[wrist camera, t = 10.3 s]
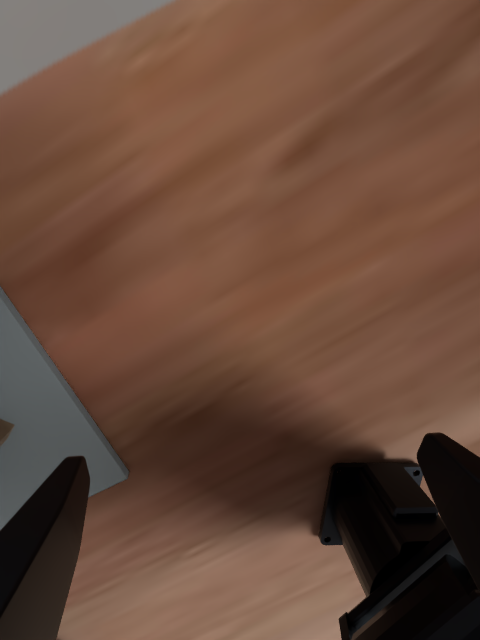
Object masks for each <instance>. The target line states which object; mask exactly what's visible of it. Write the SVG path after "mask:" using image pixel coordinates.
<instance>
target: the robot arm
mask: <svg viewBox="0 0 480 640" xmlns="http://www.w3.org/2000/svg"><path fill="white" fill-rule="evenodd" d="M417 460H418V464H419V465H418V464H417V463H337V464H335V465H333V466H332V468H331V471H330V477H329V482H328V488H327V493H326V499H325V504H324V510H323V515H322V521H321V526H320V532H319V538H320V541H321V543H322V544H323V545H343V546H344V548H345V550H346V552H347V555H348V557H349V559H350V561H351V564H352V566H353V568H354V570H355V572H356V575H357V577H358V579H359V581H360V584H361V586H362V588H363V590H364V593H365V595H366V598H365V599H364V600H363V601H361V602H360V603H359V604H358V605H357V606H356V607H355V608H353V609H352V610H351V611H350V612H349V613H347V612H346V613H345V614H344V615H342V616H341V617H340V618H339V624H340V631H341V638H342V640H480V457H478V456H477V455H475V454H474V453H472V452H471V451H469V450H468V449H466V448H465V447H463V446H462V445H460V444H459V443H457V442H455V441H454V440H452V439H451V438H449V437H448V436H446V435H445V434H443V433H427V434H426V435H425V436H424V438H423V440H422V443H421V445H420V447H419V450H418V452H417ZM339 470H341V471H340V472H338V471H339ZM415 470H416V471H415ZM414 471H415V472H414ZM337 472H338V473H337ZM422 476H424V478H425V481H426V483H427V486H428V488H429V490H430V493H431V495H432V498H433V500H434V503H435V504H434V503H433V502H432V501H431V500H430V498H429V497H428V496H427V495H426V494H425V492H424V491H423V490H422V489H421V488H420V484H421V480H422ZM89 489H90V475H89V471H88V467H87V462H86V459H85V457H84V456H69V457H66V458H65V459H64V460H63V461H62V462H61V463H60V464H59V465H58V466H57V467H56V469H55V470H54V471H53V472H52V473H51V474H50V475H49V476H48V477H47V479H46V480H45V481H44V482H43V483H42V484H41V485H40V486H39V488H38V489H37V490H36V491H35V492H34V493H33V494H32V495H31V497H30V498H29V499H28V500H27V501H26V502H25V503H24V504H23V506H22V507H21V508H20V509H19V510H18V511H17V512H16V513H15V515H14V516H13V517H12V518H11V519H10V520H9V521H8V522H7V524H6V525H5V526H4V527H3V528H2V529H1V530H0V640H56V637H57V633H58V630H59V626H60V622H61V619H62V615H63V611H64V608H65V604H66V600H67V597H68V593H69V589H70V585H71V582H72V578H73V574H74V571H75V567H76V563H77V559H78V555H79V550H80V545H81V539H82V533H83V526H84V520H85V514H86V508H87V501H88V495H89ZM435 505H436V506H435ZM438 512H439V514H440V516H439V515H438Z"/></svg>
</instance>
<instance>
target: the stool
mask: <svg viewBox="0 0 480 640" xmlns="http://www.w3.org/2000/svg"><path fill="white" fill-rule="evenodd" d="M14 426H15V425H14V424H12V423H9V422H7V421H5V420H2V419H0V447H1V445H2V444H3V443H4V442H5V441H6V440H7V438H8V437H9V435H10V433H11V431H12V429H13V427H14Z"/></svg>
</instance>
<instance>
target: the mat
mask: <svg viewBox="0 0 480 640" xmlns="http://www.w3.org/2000/svg"><path fill="white" fill-rule="evenodd" d="M0 419H2V420H5V421H7V422H9V423H12V424H14V425H15V426H14V427H13V429H12V431H11V433H10V435H9V437H8V438H7V440H6V441H5V442H4V443H3V444H2V445H1V447H0V530H1V529H2V528H3V527H4V526H5V525H6V524H7V522H8V521H9V520H10V519H11V518H12V517H13V516H14V515H15V513H16V512H17V511H18V510H19V509H20V508H21V507H22V506H23V504H24V503H25V502H26V501H27V500H28V499H29V498H30V497H31V495H32V494H33V493H34V492H35V491H36V490H37V489H38V488H39V486H40V485H41V484H42V483H43V482H44V481H45V480H46V479H47V477H48V476H49V475H50V474H51V473H52V472H53V471H54V470H55V469H56V467H57V466H58V465H59V464H60V463H61V462H62V461H63V460H64V459H65V458H66V457H69V456H84V457H85V459H86V462H87V467H88V471H89V475H90V489H89V495H88V497H90V496H92V495H94V494H96V493H98V492H101V491H103V490H105V489H107V488H109V487H111V486H113V485H115V484H117V483H119V482H122V481H124V480H126V479H128V475H129V471H128V469H127V468H126V466H125V465H124V464H123V462H122V461H121V459H120V458H119V456H118V455H117V454H116V452H115V451H114V449H113V448H112V446H111V445H110V443H109V442H108V441H107V439H106V438H105V436H104V435H103V433H102V432H101V430H100V429H99V428H98V426H97V425H96V423H95V422H94V420H93V419H92V418H91V416H90V415H89V413H88V412H87V410H86V409H85V407H84V406H83V405H82V403H81V402H80V400H79V399H78V397H77V396H76V395H75V393H74V392H73V390H72V389H71V387H70V386H69V384H68V383H67V382H66V380H65V379H64V377H63V376H62V374H61V373H60V371H59V370H58V369H57V367H56V366H55V364H54V363H53V361H52V360H51V359H50V357H49V356H48V354H47V353H46V351H45V350H44V348H43V347H42V346H41V344H40V343H39V341H38V340H37V338H36V337H35V336H34V334H33V333H32V331H31V330H30V328H29V327H28V325H27V324H26V323H25V321H24V320H23V318H22V317H21V315H20V314H19V312H18V311H17V310H16V308H15V307H14V305H13V304H12V302H11V301H10V300H9V298H8V297H7V295H6V294H5V292H4V291H3V289H2V288H1V287H0Z"/></svg>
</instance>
